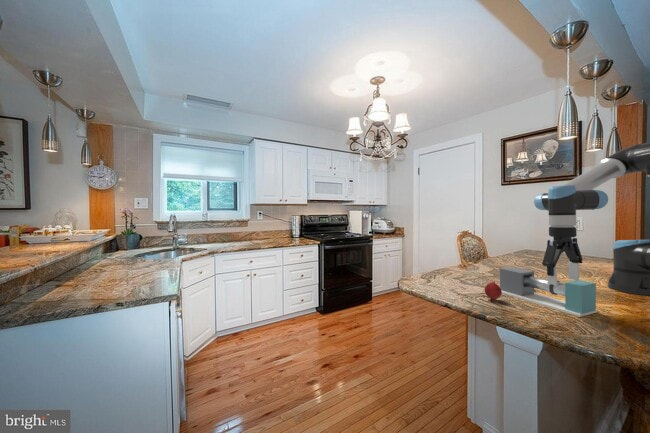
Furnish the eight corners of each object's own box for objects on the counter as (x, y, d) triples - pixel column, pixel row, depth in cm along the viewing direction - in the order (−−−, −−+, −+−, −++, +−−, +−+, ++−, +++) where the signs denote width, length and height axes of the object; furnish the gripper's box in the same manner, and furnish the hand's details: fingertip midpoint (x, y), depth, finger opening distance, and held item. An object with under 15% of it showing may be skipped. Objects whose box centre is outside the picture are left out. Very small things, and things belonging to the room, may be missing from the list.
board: (514, 289, 113) (514, 287, 113) (597, 312, 87) (597, 309, 87) (497, 292, 109) (497, 290, 109) (579, 316, 83) (579, 314, 83)
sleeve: (511, 287, 112) (511, 267, 112) (534, 293, 104) (534, 271, 104) (500, 289, 110) (499, 268, 110) (521, 296, 101) (521, 273, 101)
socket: (579, 305, 90) (579, 279, 90) (595, 310, 86) (595, 283, 86) (565, 309, 88) (565, 282, 87) (581, 314, 83) (581, 286, 83)
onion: (485, 301, 99) (485, 281, 98) (483, 296, 104) (483, 278, 104) (502, 303, 96) (502, 283, 96) (500, 298, 101) (500, 279, 101)
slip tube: (519, 287, 103) (519, 274, 103) (528, 285, 105) (528, 273, 105) (578, 302, 85) (578, 287, 85) (587, 300, 87) (587, 285, 87)
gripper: (569, 224, 99) (570, 275, 99) (529, 227, 91) (530, 283, 91) (594, 224, 92) (595, 279, 92) (553, 228, 84) (555, 289, 84)
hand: (563, 281), depth 92 cm, fingers open, 13 cm apart
